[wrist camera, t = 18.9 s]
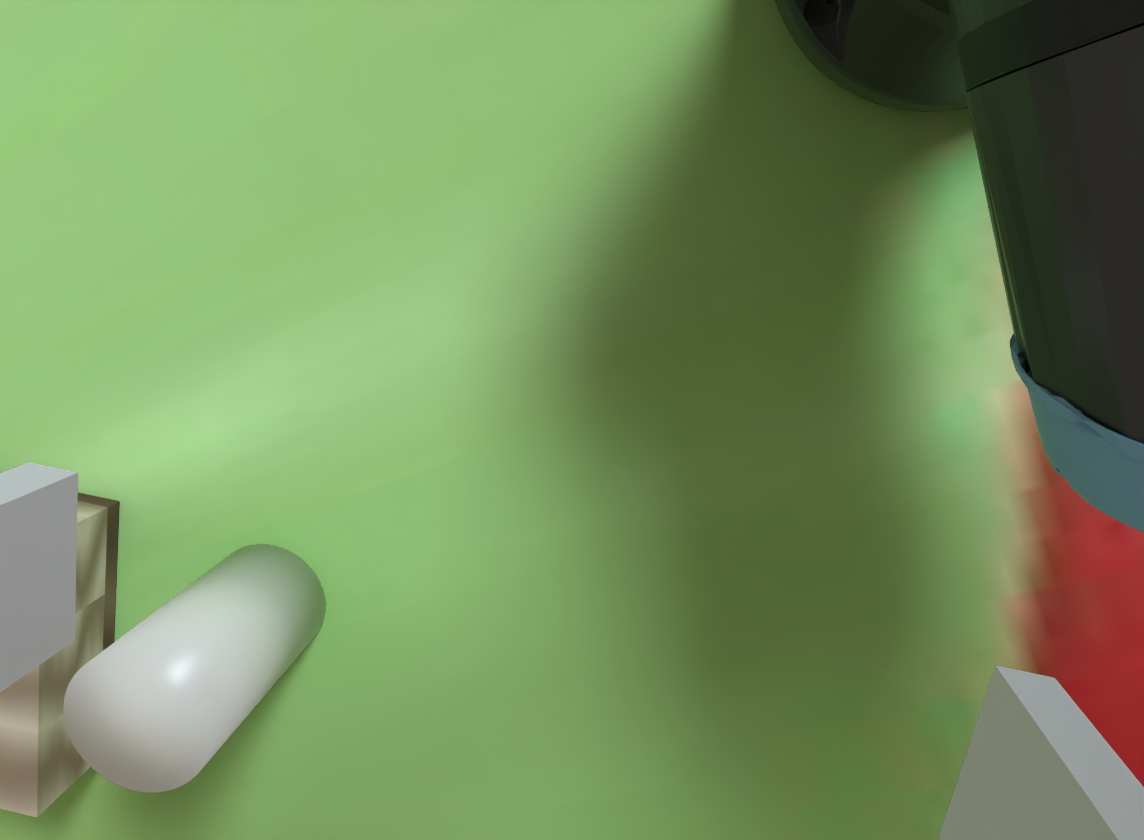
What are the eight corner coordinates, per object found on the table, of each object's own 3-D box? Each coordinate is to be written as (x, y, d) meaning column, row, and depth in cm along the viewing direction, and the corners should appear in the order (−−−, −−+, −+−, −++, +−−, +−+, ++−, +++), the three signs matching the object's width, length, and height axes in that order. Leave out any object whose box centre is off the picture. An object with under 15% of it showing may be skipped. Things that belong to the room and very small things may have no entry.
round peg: (216, 533, 46) (65, 637, 35) (331, 557, 46) (216, 671, 34) (209, 640, 48) (61, 773, 36) (319, 664, 47) (206, 807, 36)
